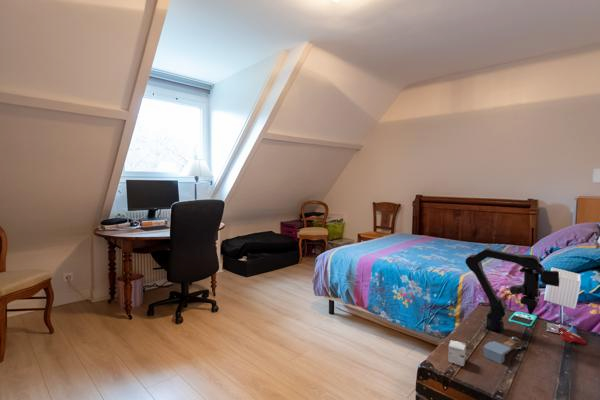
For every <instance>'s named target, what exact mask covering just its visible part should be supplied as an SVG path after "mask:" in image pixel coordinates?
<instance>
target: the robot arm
mask: <svg viewBox="0 0 600 400" xmlns="http://www.w3.org/2000/svg"><path fill="white" fill-rule="evenodd" d="M487 258H490V259H495V260H500V261H503V262H504V261H505V262H508V263H509V262H510V263H512V264H513V263H514V264H515V265H516V264H517V265H518V266H521V268H519V270H518V272H521V273H523V283H522V284H518V285H511V286H509V293H510V294H511V295H512V296H514V295H519V294H521V295H522V296H521V297H520V304H522V305H526V308H527V311H528V314H531V315H533V312H534V311H535V310H536V308H537V307H538V305H539V303H540V302H539V301H540V297H541V295H542V293H541V292H542V291H540V289H539V287H540V283H542V284H543V285H545V286H553V287H560V271H559V270H558V271H557V270H548V269H545V268H544V266H543V265H542V263H541V262H540V261H541V260H540V258H539V257H538V256H537V255H534V254H516V253H511V252H507V251H501V250H495V249H491V248H490V247H489V248H488V247H487V248H484V249H483V250H482V251H480V252H478V253H476V254H474V253H473V254H470V255H469V256H467V258H465V265H466V266H467V268H469V270H470V271H471V272H472V273H473V274H474V275H475V278H476V279H477V280H478V282H479V283H478V284H480V286H481V288H482V290H483V292H484V294H485V295H486V298H487V299H488V302H489V308H490V309H489V310H488V312H487V314H486V326H485V327H484V328H485V329H487V330H489V331H492V332H494V333H501V332H502V331H505V327H504V326H505V323H504V321H503V320H504V319H503V318H504V317H505V315H506V313H507V311H508V305H507V303H506V301H505V299H504V298H500V297H499V296H498V294H497V293H496V291H495V290H494V287H493V286H492V283H491V282H490V280H489V278H488V277H487V275H486V272H485V271H484V267H483V262H482V261H484V260H485V259H487Z"/></svg>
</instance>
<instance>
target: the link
mask: <svg viewBox="0 0 600 400" xmlns="http://www.w3.org/2000/svg"><path fill="white" fill-rule="evenodd" d="M502 344H503V345H505V346H507V347H510V348H511V350H510V351H509V352H507V353H506V354H505V356H506V355H507V354H509V353H510V352H511V351H513V350H515V349H514V348H516V347H520V344H521V339H519V338H518V340H513V339H512V336H511V337H509V338H508V339H507V341H505V342H503V343H502Z"/></svg>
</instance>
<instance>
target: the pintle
mask: <svg viewBox="0 0 600 400" xmlns="http://www.w3.org/2000/svg"><path fill="white" fill-rule="evenodd" d="M511 337H512V339H513V340H518V339H519V338H518V337H517V336H511ZM518 349H521V350H523V349H522V348H521V346H520V347H516V348H514V349H513V350H518Z"/></svg>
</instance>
